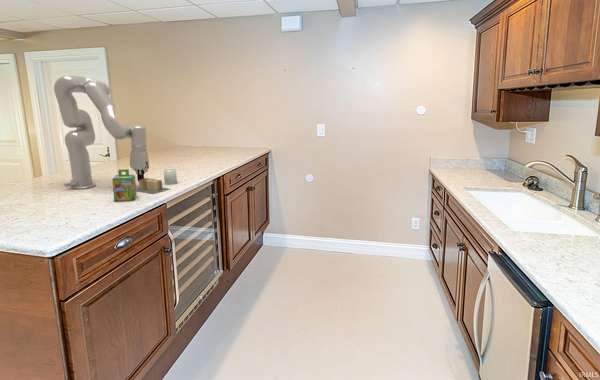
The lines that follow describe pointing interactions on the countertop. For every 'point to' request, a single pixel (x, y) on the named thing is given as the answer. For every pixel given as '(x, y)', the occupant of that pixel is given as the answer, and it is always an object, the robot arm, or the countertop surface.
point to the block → (150, 184)
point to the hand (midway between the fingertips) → (140, 181)
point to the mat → (151, 191)
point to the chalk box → (124, 186)
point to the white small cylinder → (170, 176)
